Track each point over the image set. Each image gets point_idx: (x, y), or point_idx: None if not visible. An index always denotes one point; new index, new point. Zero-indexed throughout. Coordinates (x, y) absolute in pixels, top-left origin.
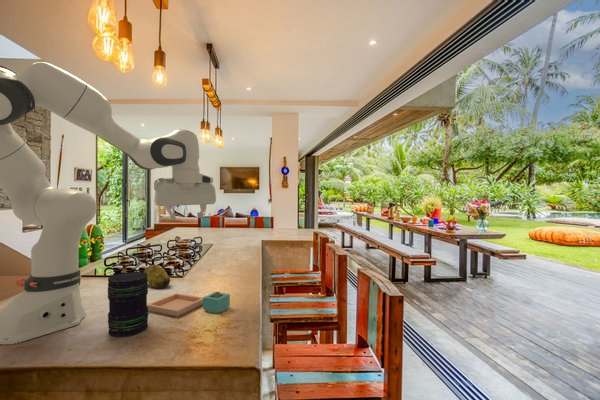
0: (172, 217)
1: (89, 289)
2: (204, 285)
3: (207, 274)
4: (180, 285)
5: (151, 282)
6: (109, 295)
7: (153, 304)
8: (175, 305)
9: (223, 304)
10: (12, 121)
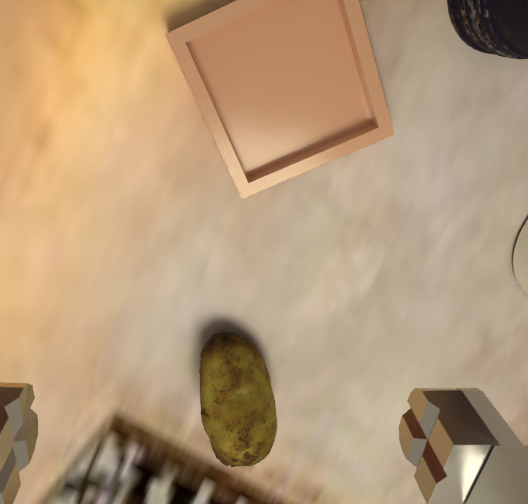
0: (475, 399)
1: None
2: (74, 277)
3: None
4: (161, 332)
5: (266, 369)
6: None
7: (364, 131)
8: (287, 92)
9: None
10: None
